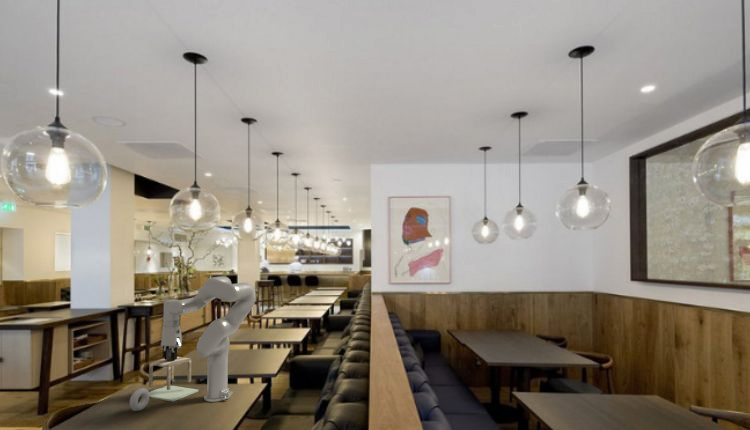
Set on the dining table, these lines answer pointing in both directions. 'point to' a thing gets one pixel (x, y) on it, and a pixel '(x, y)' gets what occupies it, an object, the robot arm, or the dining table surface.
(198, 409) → the dining table surface
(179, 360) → the miniature stool
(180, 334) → the robot arm
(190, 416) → the dining table surface
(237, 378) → the dining table surface
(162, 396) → the mat
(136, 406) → the donut
